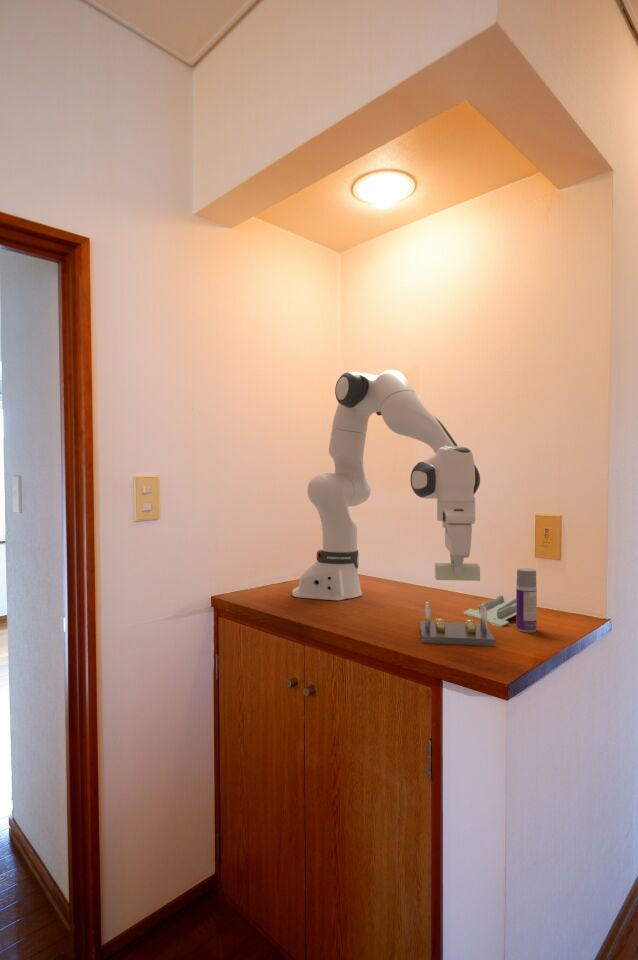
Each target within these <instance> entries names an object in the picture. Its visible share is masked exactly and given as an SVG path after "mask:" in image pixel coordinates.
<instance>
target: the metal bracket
mask: <svg viewBox="0 0 638 960" xmlns="http://www.w3.org/2000/svg"><path fill="white" fill-rule="evenodd" d="M482 604H485V607H487V623H489V624H491V625H493V626H495V625H496V627H498V626H499V627H500V628H502V627H504V626H507V625H508V624H510V622H509V621H508V620H509V619H511V618H512V617H516V598H514V599H513V600H508V599H505V597H504V596H503V595H498V596H497V597H496V598H495V599H490V600H486V601H484V602H483V603H482ZM477 607H478V609H473V608H469V609H467V610H464V611H463V613H464V615H466V614H467V616H469V617H472V618H476V619H478V620H480V604H479V605H478V606H477Z"/></svg>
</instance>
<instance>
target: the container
mask: <svg viewBox="0 0 638 960" xmlns="http://www.w3.org/2000/svg"><path fill="white" fill-rule="evenodd" d="M515 588H516V591H515V593H516V594H515V595H516V597H515V599H516V615H515V617H516V619H515V620H516V621H515V624H516V625H515V627H516V628H515V629H516V630H517V631H518V630H519V632H521V631H522V632H523V633H536V632H537V606H538V605H537V603H538V602H537V569H536V568H530V567H519V568H517V569H516V587H515Z"/></svg>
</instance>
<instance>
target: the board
mask: <svg viewBox="0 0 638 960" xmlns="http://www.w3.org/2000/svg"><path fill="white" fill-rule="evenodd" d="M434 578H435V580H436V581H466V582H467V581H470V582H471V581H472V582H473V581H475V582H480V581H481V567H480V565H479V564H478V563H468V562H467V563H464V562H463V566H462V574H461V575H456V574H455V573H454V563H451V562H449V563H448V562H434Z"/></svg>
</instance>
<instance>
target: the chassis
mask: <svg viewBox="0 0 638 960" xmlns="http://www.w3.org/2000/svg"><path fill="white" fill-rule="evenodd" d="M424 604H425V605H424V615H425V616H424V617H425V618H424V620H423V621H421V620H420V622H419V630H420V635H421V641H422V644H434V643H435V644H438V645H458V646H459V645H461V646H482V647H484V646H485V647H495V646H496V638H495V637H494V634H492V631H490V629H489V627H488V622H487V607H485V604H483V603H480V604H479V605H480V619H479V620H480V623H478V622H477V623H476V622H475V620H474V619H471V618H468V619H465V621H464V622H453V621H452V622H447V621H445V618H442V617H437V618H435V621H431V604H430V601H425V602H424Z"/></svg>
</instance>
